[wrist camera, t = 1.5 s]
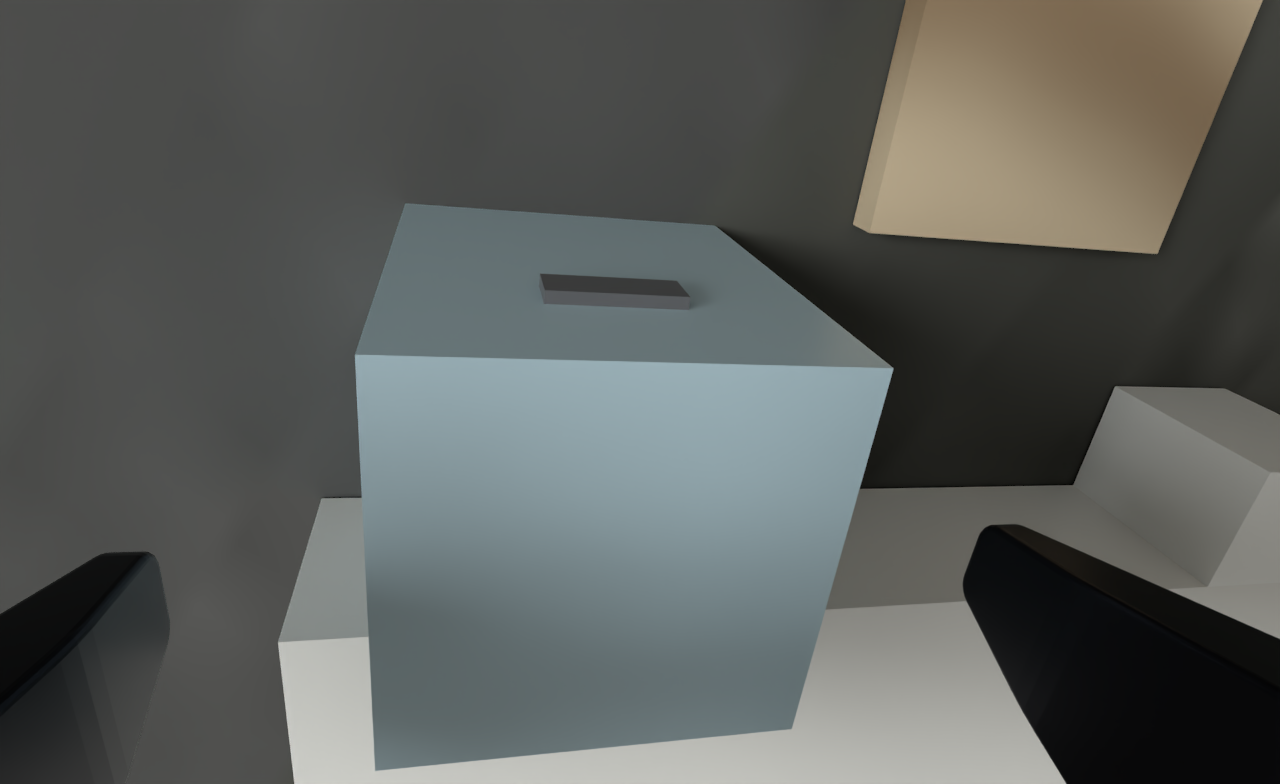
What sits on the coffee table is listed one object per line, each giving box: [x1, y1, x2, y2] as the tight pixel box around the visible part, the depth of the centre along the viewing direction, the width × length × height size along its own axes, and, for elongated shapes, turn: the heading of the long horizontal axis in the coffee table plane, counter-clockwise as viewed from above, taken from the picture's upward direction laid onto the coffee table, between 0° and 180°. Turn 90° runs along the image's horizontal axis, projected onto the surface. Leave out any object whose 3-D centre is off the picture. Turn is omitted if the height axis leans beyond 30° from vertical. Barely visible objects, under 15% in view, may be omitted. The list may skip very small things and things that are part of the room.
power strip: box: [278, 386, 1280, 784], centre depth 15 cm, size 8×25×4 cm, turn 84°
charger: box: [355, 203, 894, 771], centre depth 11 cm, size 7×5×6 cm
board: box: [853, 0, 1263, 254], centre depth 12 cm, size 6×6×1 cm
